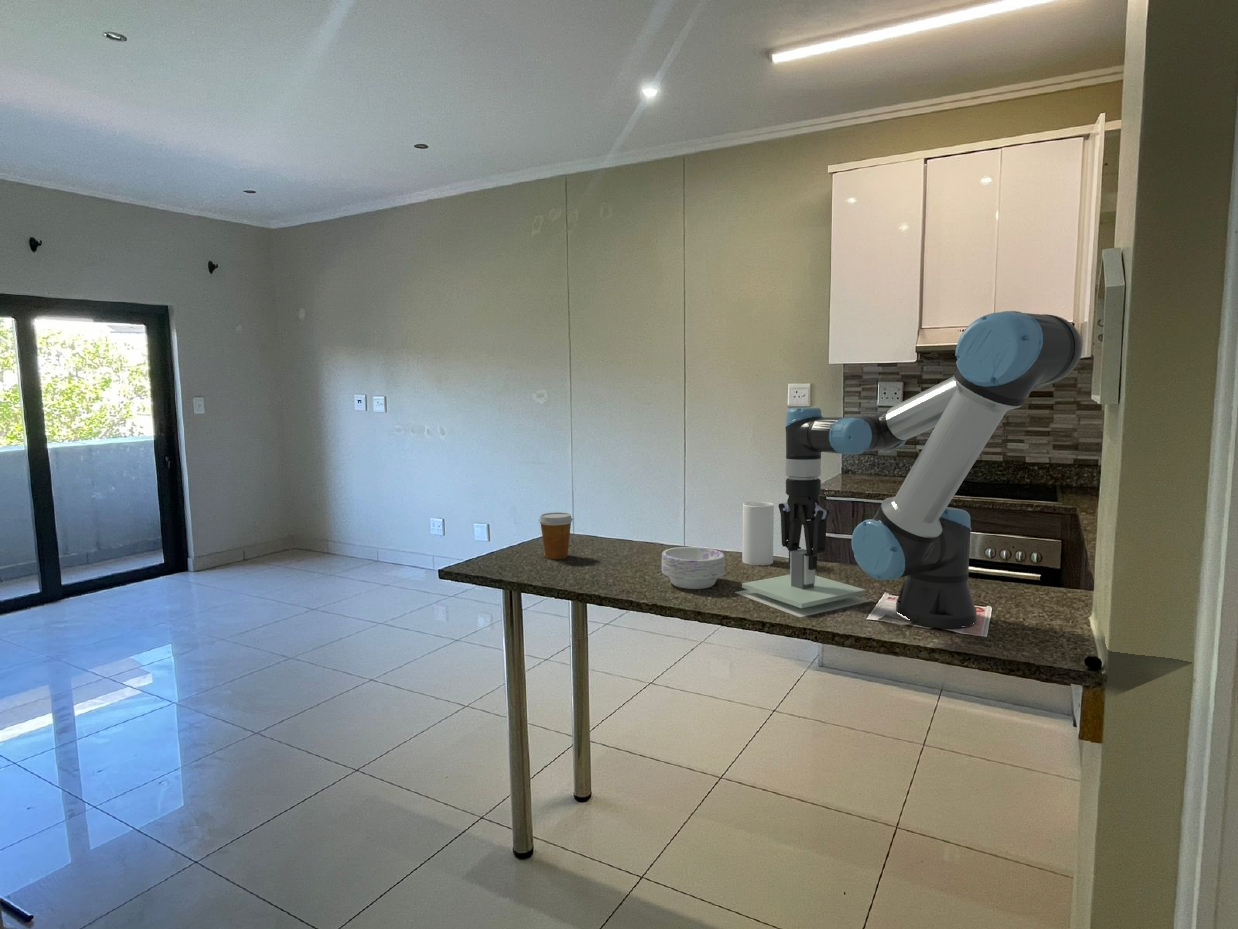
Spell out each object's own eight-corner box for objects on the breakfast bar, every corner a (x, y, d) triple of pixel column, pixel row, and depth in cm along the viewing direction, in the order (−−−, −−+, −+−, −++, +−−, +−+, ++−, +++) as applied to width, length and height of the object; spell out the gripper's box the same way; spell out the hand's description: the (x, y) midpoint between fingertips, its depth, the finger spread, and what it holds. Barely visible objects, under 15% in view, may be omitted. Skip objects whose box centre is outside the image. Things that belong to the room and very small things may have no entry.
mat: (870, 602, 157) (870, 601, 157) (799, 619, 146) (799, 617, 146) (802, 580, 175) (802, 579, 175) (734, 594, 164) (734, 592, 164)
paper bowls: (735, 582, 175) (735, 550, 174) (706, 597, 162) (706, 563, 161) (681, 573, 183) (681, 543, 182) (649, 587, 171) (649, 555, 170)
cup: (775, 565, 190) (776, 506, 188) (744, 565, 190) (745, 506, 188) (769, 558, 198) (770, 501, 196) (740, 558, 198) (740, 501, 197)
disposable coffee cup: (539, 553, 207) (538, 512, 206) (572, 552, 208) (571, 511, 207) (539, 561, 198) (538, 518, 196) (574, 560, 199) (573, 517, 197)
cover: (865, 594, 156) (866, 553, 156) (801, 608, 147) (801, 565, 146) (803, 576, 173) (803, 539, 172) (742, 587, 164) (741, 549, 163)
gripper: (844, 479, 152) (842, 587, 154) (789, 473, 167) (789, 571, 169) (818, 482, 149) (817, 592, 151) (764, 475, 163) (764, 576, 165)
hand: (802, 581), depth 160 cm, fingers closed on cover, 3 cm apart
